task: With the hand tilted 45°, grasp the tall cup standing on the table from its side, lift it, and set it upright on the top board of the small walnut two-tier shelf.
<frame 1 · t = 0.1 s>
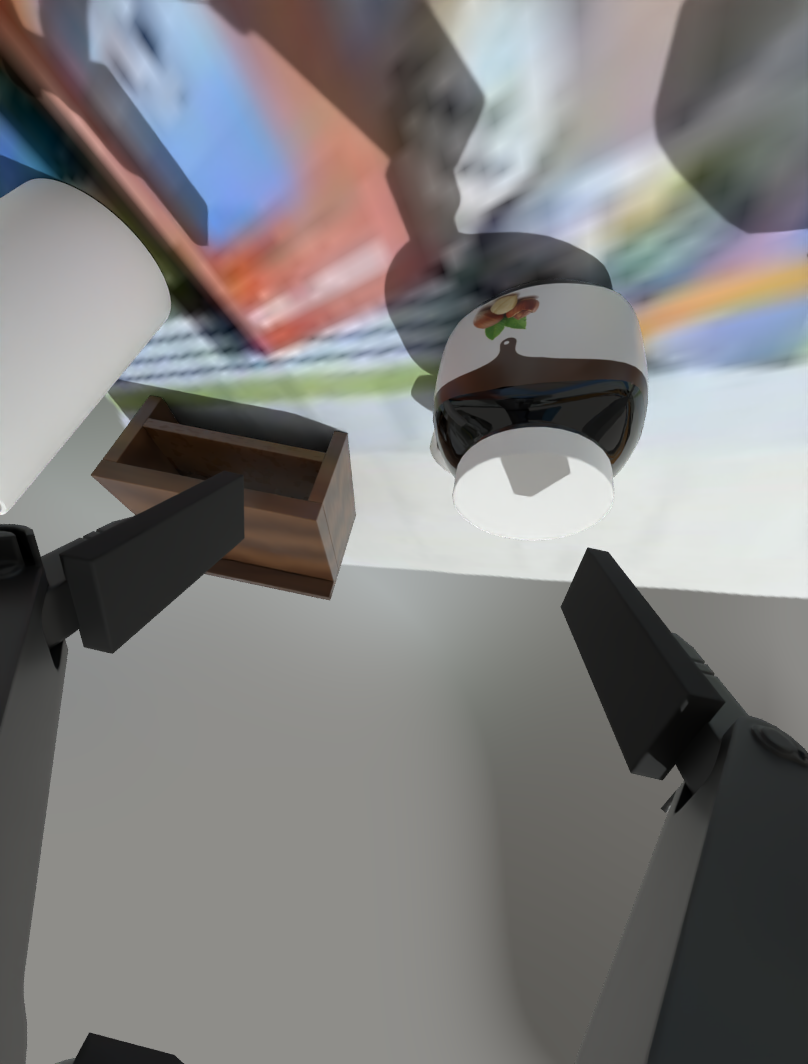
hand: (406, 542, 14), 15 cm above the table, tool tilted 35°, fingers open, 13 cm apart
shelf: (268, 463, 39), on the table
cup: (102, 262, 23), on the table
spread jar: (519, 368, 24), on the table
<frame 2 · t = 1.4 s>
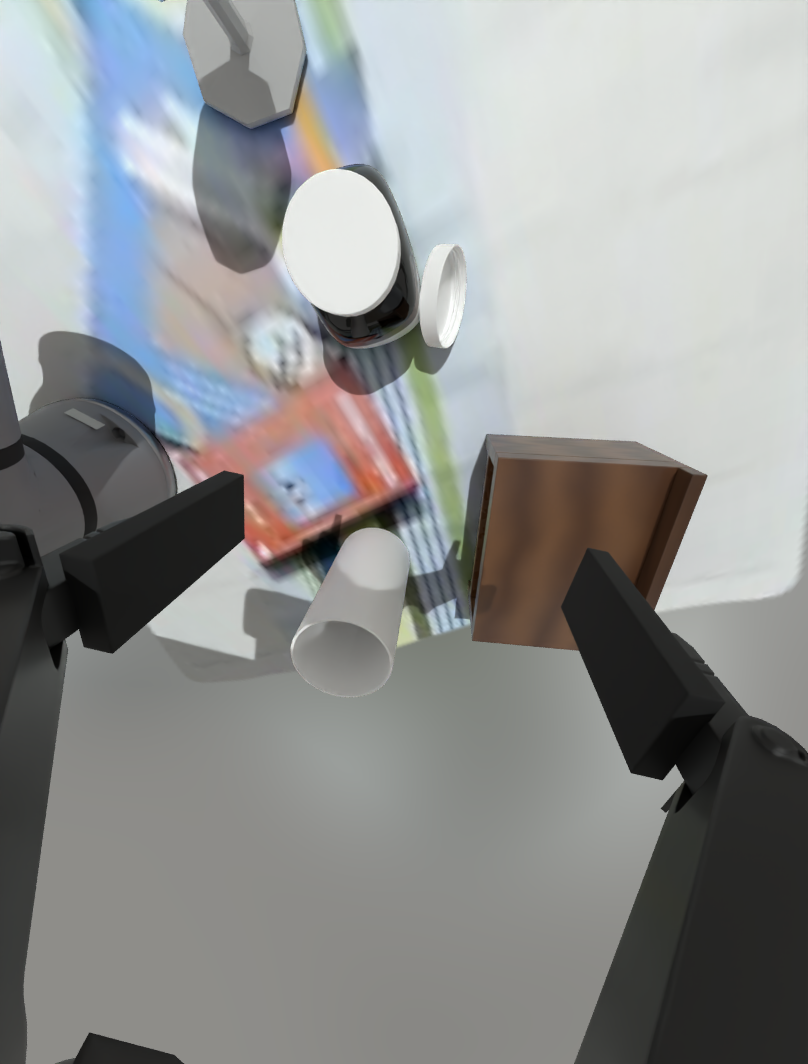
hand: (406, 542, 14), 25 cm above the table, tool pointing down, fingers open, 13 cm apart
wineglass: (250, 51, 27), on the table
shelf: (542, 523, 40), on the table
cup: (375, 558, 44), on the table
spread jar: (397, 286, 32), on the table
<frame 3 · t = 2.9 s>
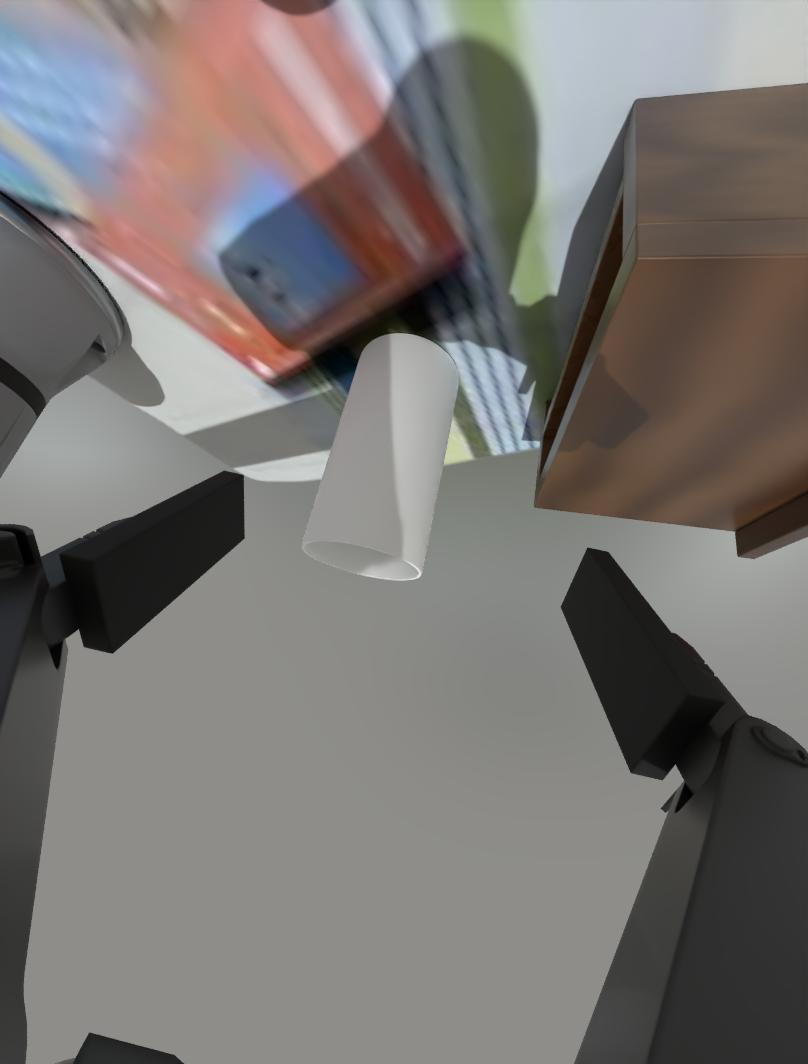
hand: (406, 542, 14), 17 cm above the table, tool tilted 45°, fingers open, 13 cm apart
shelf: (703, 312, 21), on the table
cup: (409, 373, 31), on the table
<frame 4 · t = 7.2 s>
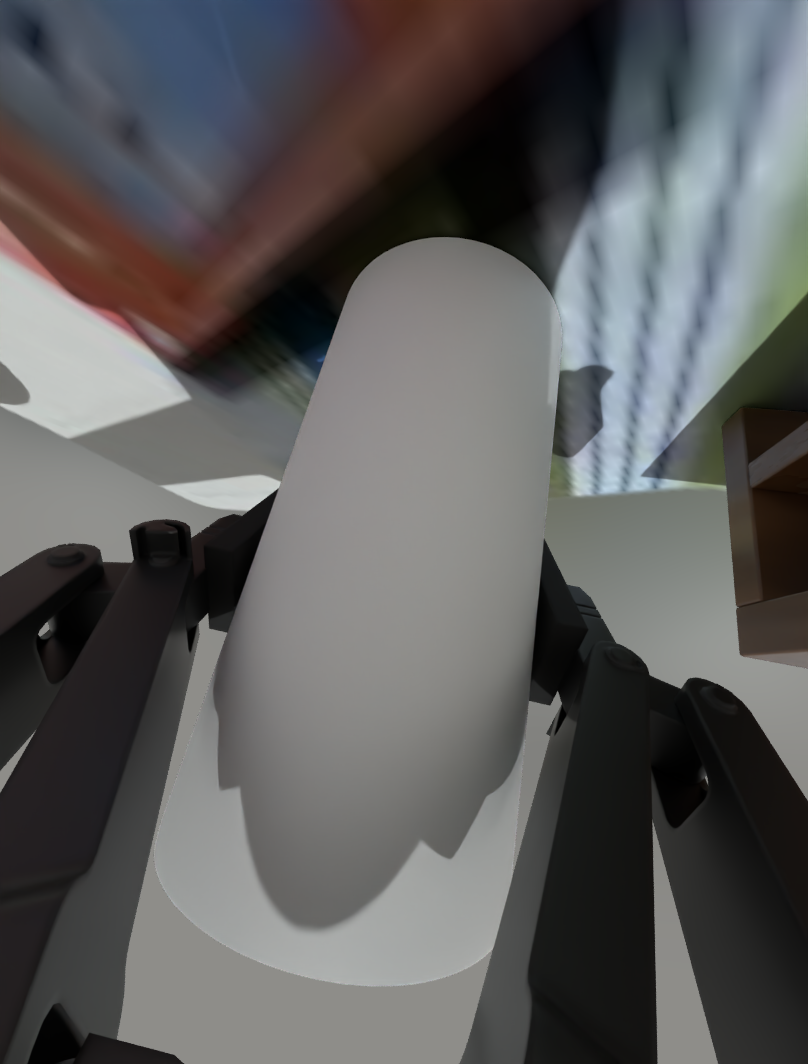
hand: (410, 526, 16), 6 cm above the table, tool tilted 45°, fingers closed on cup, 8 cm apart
cup: (448, 347, 15), on the table, touching gripper
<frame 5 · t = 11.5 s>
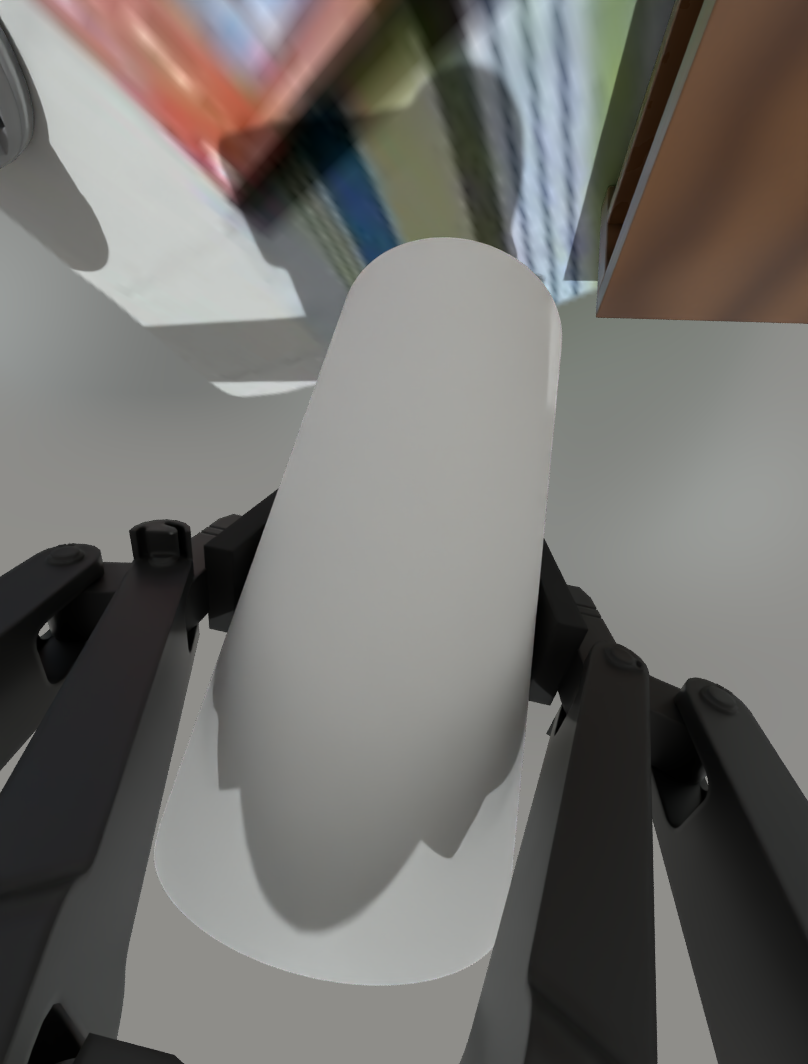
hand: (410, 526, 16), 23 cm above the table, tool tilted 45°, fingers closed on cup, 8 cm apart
cup: (447, 347, 15), point 16 cm above the table, touching gripper
when the fingers open (15 cm above the table, at t = 15.9 s): cup stays where it is, resting on shelf.
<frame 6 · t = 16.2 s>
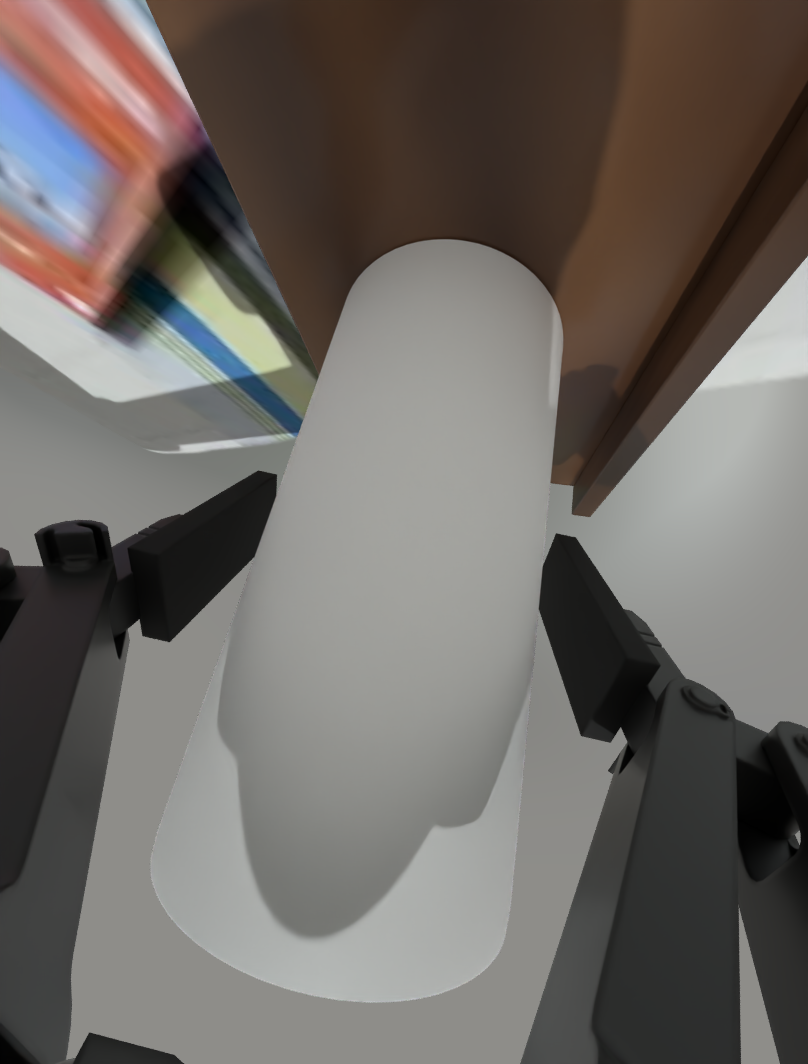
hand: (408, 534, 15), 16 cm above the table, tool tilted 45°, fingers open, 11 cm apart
shelf: (502, 204, 17), on the table
cup: (448, 349, 14), point 9 cm above the table, touching shelf
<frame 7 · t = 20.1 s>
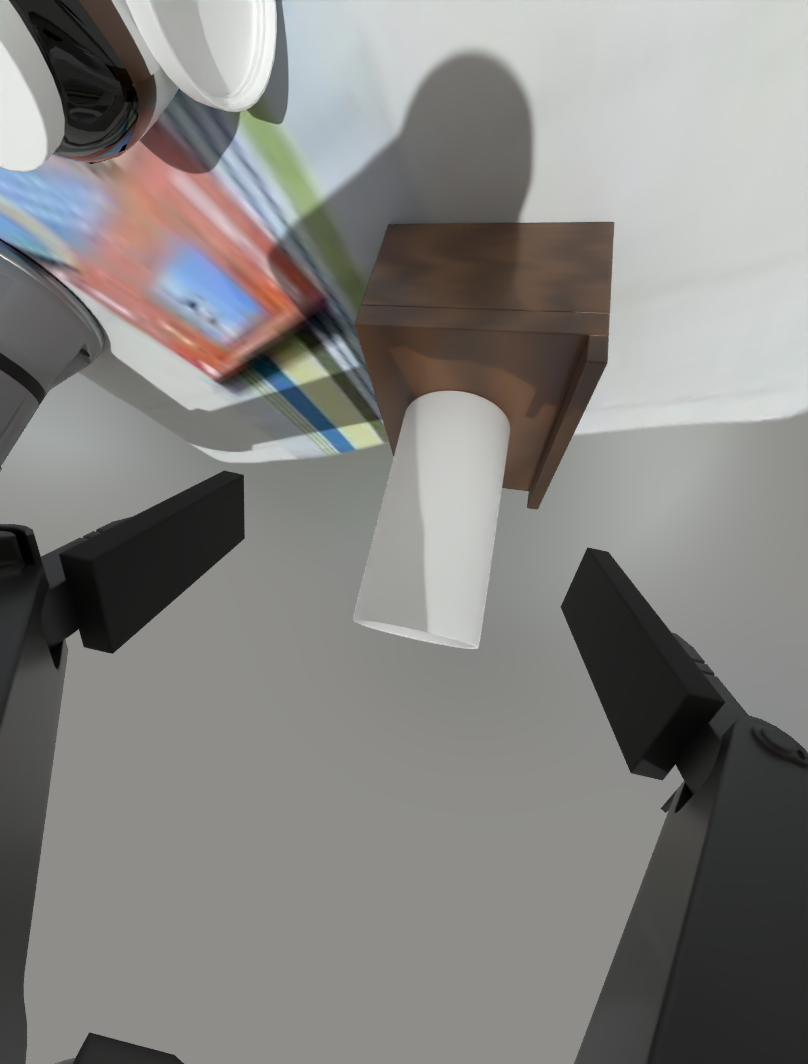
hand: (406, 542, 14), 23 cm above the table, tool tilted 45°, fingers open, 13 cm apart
shelf: (485, 340, 32), on the table
cup: (456, 425, 29), point 9 cm above the table, touching shelf
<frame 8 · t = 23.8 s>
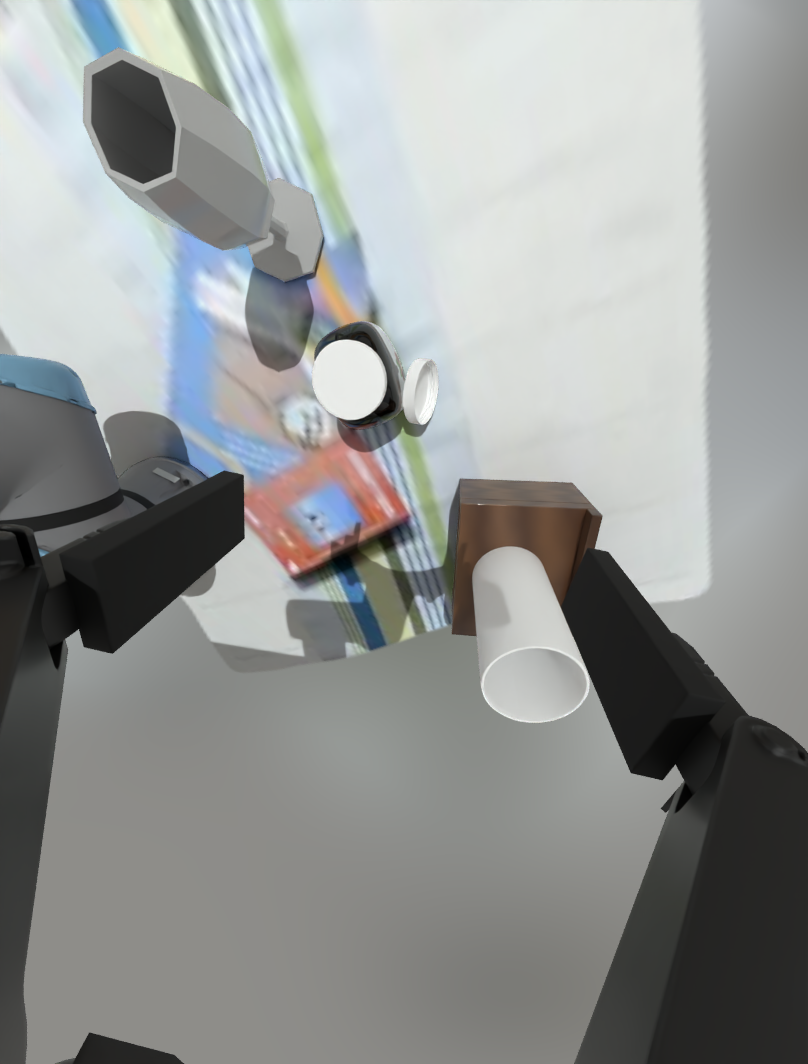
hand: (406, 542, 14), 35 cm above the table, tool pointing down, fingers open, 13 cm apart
wineglass: (285, 234, 40), on the table
shelf: (506, 543, 52), on the table
cup: (507, 576, 44), point 9 cm above the table, touching shelf
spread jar: (390, 377, 45), on the table
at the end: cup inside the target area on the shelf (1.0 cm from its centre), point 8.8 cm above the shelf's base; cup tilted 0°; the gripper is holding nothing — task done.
